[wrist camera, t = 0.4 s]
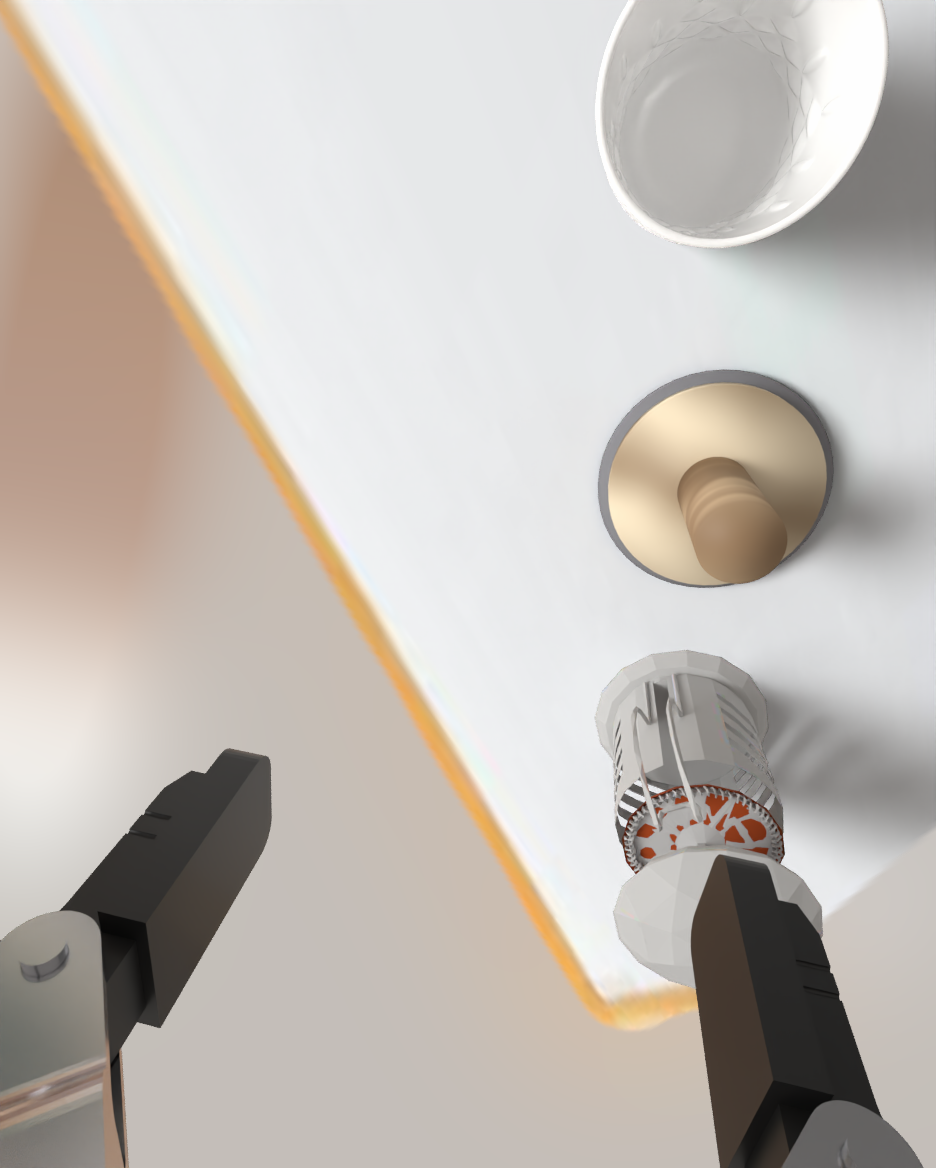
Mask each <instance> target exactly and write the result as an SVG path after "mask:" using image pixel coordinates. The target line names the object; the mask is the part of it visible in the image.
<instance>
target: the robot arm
mask: <svg viewBox="0 0 936 1168" xmlns="http://www.w3.org/2000/svg"><path fill="white" fill-rule="evenodd" d="M271 818H272V816H271V764H270V760H269V758H268V757H267V756H263V755H258V754H253V753H249V752H244V751H239V750H234V749H230V748H229V749H226V750H224V751H223V752H222V753H221V755H220V756H219V757H218V758H217V759H216V761H215V762H214V763H213V765H212V766H211V767H210V769H209V770H208V771H207V773H205V774H204V773H199V772H195V771H191V772H189V773H187V774H186V775H184V776H182V777H181V778H179V779H178V780H176V781H174V782H173V783H171V784H170V785H168V786H166V787H165V788H164V789H163V790H162V791H161V792H160V794H159V795H158V796H157V797H156V798H155V799H154V801H153V802H152V803H151V804H150V805H149V807H148V808H147V809H146V810H145V814H144V815H141V816H140V817H139V819H138V820H137V821H136V822H135V823H134V825H133V826H132V827H131V828H130V831H129V833H128V834H125V835H124V836H123V838H122V839H121V840H120V841H119V842H118V843H117V844H116V846H115V847H114V848H113V849H112V850H111V852H110V853H109V854H108V855H107V856H106V857H105V859H104V860H103V861H102V862H101V863H100V865H99V866H98V867H97V868H96V869H95V870H94V872H93V873H92V874H91V875H90V877H89V878H88V879H87V880H86V881H85V882H84V884H83V885H82V886H81V887H80V888H79V889H78V891H77V892H76V893H75V894H74V896H73V897H72V898H71V899H70V900H69V901H68V902H67V904H66V905H65V906H64V907H63V908H62V909H61V910H60V911H56V912H51V913H47V914H43V915H40V916H37V917H35V918H33V919H31V920H28V921H26V922H25V923H23V924H21V925H20V926H18V927H16V928H15V929H14V930H13V931H11V932H10V933H8V934H7V935H6V936H5V937H4V938H3V939H2V940H0V1168H129V1163H128V1147H127V1129H126V1113H125V1096H124V1081H123V1066H122V1065H123V1063H122V1051H121V1047H122V1045H123V1044H124V1042H125V1040H126V1039H127V1037H128V1036H129V1034H130V1032H131V1031H132V1029H133V1027H134V1026H135V1024H136V1023H137V1022H139V1023H143V1024H147V1025H151V1026H154V1027H158V1028H161V1026H162V1024H163V1022H164V1021H165V1019H166V1017H167V1016H168V1014H169V1012H170V1010H171V1009H172V1007H173V1005H174V1004H175V1002H176V1000H177V998H178V997H179V995H180V993H181V992H182V990H183V988H184V986H185V984H186V983H187V981H188V979H189V978H190V976H191V974H192V972H193V971H194V969H195V967H196V966H197V964H198V962H199V961H200V959H201V957H202V955H203V953H204V952H205V950H206V948H207V947H208V945H209V943H210V942H211V940H212V938H213V936H214V935H215V933H216V931H217V930H218V928H219V926H220V924H221V923H222V921H223V919H224V917H225V916H226V914H227V912H228V910H229V909H230V907H231V905H232V904H233V902H234V900H235V899H236V897H237V895H238V893H239V892H240V890H241V888H242V886H243V885H244V883H245V881H246V880H247V878H248V876H249V874H250V873H251V871H252V869H253V868H254V866H255V864H256V862H257V861H258V859H259V857H260V855H261V854H262V852H263V849H264V847H265V845H266V842H267V839H268V836H269V832H270V827H271ZM691 957H692V964H693V972H694V979H695V986H696V994H697V1001H698V1008H699V1016H700V1023H701V1030H702V1038H703V1045H704V1052H705V1060H706V1067H707V1074H708V1081H709V1089H710V1096H711V1103H712V1110H713V1118H714V1126H715V1133H716V1140H717V1148H718V1155H719V1162H720V1168H923V1166H922V1164H921V1163H920V1161H919V1159H918V1157H917V1156H916V1154H915V1152H914V1151H913V1150H912V1148H911V1147H910V1146H909V1144H908V1143H907V1142H906V1141H905V1140H904V1138H903V1137H902V1136H901V1135H900V1134H899V1133H898V1132H897V1131H896V1130H895V1129H894V1128H893V1127H892V1126H891V1125H890V1124H889V1123H887V1122H886V1121H885V1120H883V1118H882V1116H881V1114H880V1112H879V1109H878V1107H877V1104H876V1101H875V1098H874V1095H873V1092H872V1089H871V1086H870V1083H869V1080H868V1077H867V1075H866V1072H865V1069H864V1066H863V1062H862V1060H861V1057H860V1054H859V1051H858V1048H857V1045H856V1042H855V1039H854V1036H853V1033H852V1030H851V1027H850V1024H849V1021H848V1018H847V1015H846V1012H845V1009H844V1006H843V1003H842V1001H840V1000H839V991H838V988H837V985H836V982H835V979H834V976H833V974H832V973H830V964H829V961H828V958H827V955H826V952H825V949H824V946H823V943H822V940H821V937H820V934H819V933H818V932H817V930H816V929H815V928H814V926H813V925H812V924H811V922H810V921H809V919H808V918H807V917H806V915H805V914H804V913H803V911H802V910H801V909H800V907H799V906H798V904H794V903H790V902H785V901H780V900H778V897H777V894H776V890H775V887H774V883H773V880H772V876H771V873H770V870H769V868H768V866H767V865H766V864H764V863H760V862H755V861H750V860H746V859H741V858H736V857H731V856H727V855H722V854H719V855H718V856H717V857H716V858H715V860H714V862H713V865H712V868H711V870H710V873H709V876H708V879H707V881H706V884H705V887H704V889H703V892H702V895H701V898H700V900H699V903H698V906H697V908H696V911H695V914H694V918H693V922H692V929H691Z"/></svg>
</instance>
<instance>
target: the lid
mask: <svg viewBox="0 0 936 1168" xmlns="http://www.w3.org/2000/svg"><path fill="white" fill-rule="evenodd" d="M826 481H827V473H826V462H825V457H824V452H823V449H822V446H821V443H820V441H819V438H818V437H817V435H816V433H815V431H814V429H813V428H812V426H811V425H810V424H809V422H808V421H807V420H806V418H805V417H804V416H803V415H802V414H801V413H800V412H799V411H798V410H796V409H795V408H794V407H793V406H792V405H790V404H789V403H787V402H786V401H785V400H783V399H782V398H780V397H779V396H777V395H775V394H773V393H771V392H769V391H767V390H764V389H761V388H758V387H755V386H752V385H747V384H742V383H731V382H718V383H707V384H702V385H698V386H693V387H690V388H687V389H684V390H681V391H679V392H677V393H675V394H672V395H670V396H668V397H666V398H665V399H663V400H662V401H660V402H658V403H657V404H655V405H654V406H652V407H651V408H650V409H649V410H648V411H646V412H645V413H644V414H643V415H642V416H641V417H640V418H639V419H638V420H637V421H636V422H635V423H634V424H633V425H632V427H631V428H630V429H629V431H628V432H627V433H626V435H625V436H624V438H623V440H622V441H621V443H620V445H619V447H618V449H617V451H616V454H615V456H614V459H613V462H612V466H611V470H610V474H609V483H608V499H609V508H610V514H611V518H612V521H613V524H614V527H615V529H616V531H617V533H618V536H619V538H620V539H621V541H622V542H623V544H624V545H625V547H626V548H627V549H628V550H629V552H630V553H631V554H632V555H633V556H634V557H635V558H636V559H637V560H638V561H640V562H641V563H642V564H643V565H644V566H646V567H647V568H649V569H650V570H652V571H653V572H655V573H657V574H659V575H662V576H664V577H666V578H669V579H672V580H675V581H678V582H682V583H687V584H694V585H721V584H728V583H734V584H741V583H748V582H752V581H755V580H758V579H760V578H762V577H764V576H766V575H767V574H769V573H770V572H771V571H772V570H774V568H775V567H776V566H777V565H778V564H779V563H780V561H782V560H783V559H784V558H785V557H786V556H788V555H789V554H790V553H791V552H792V551H793V550H794V549H795V548H796V547H797V546H798V545H799V544H800V543H801V542H802V540H803V539H804V538H805V536H806V535H807V534H808V532H809V531H810V529H811V528H812V526H813V524H814V522H815V521H816V519H817V517H818V514H819V512H820V509H821V507H822V503H823V499H824V495H825V490H826Z"/></svg>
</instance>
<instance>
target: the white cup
mask: <svg viewBox="0 0 936 1168" xmlns="http://www.w3.org/2000/svg"><path fill="white" fill-rule="evenodd" d="M888 54H889V41H888V28H887V21H886V15H885V10H884V6H883V2H882V0H629V1H628V3H627V5H626V6H625V8H624V10H623V12H622V13H621V15H620V17H619V19H618V21H617V23H616V25H615V28H614V30H613V32H612V34H611V37H610V40H609V42H608V45H607V48H606V51H605V54H604V57H603V61H602V65H601V69H600V74H599V79H598V86H597V94H596V131H597V139H598V145H599V150H600V154H601V158H602V161H603V164H604V167H605V170H606V174H607V177H608V181H609V183H610V186H611V188H612V190H613V192H614V194H615V196H616V198H617V200H618V201H619V203H620V204H621V206H622V207H623V209H624V210H625V211H626V213H627V214H628V215H629V216H630V217H631V218H632V219H633V220H634V221H635V222H636V223H637V224H638V225H639V226H641V227H642V228H643V229H645V230H646V231H648V232H649V233H651V234H653V235H655V236H657V237H659V238H662V239H664V240H667V241H669V242H673V243H676V244H681V245H689V246H694V247H701V248H727V247H735V246H740V245H744V244H748V243H752V242H755V241H758V240H761V239H764V238H766V237H769V236H771V235H773V234H775V233H777V232H779V231H781V230H783V229H785V228H786V227H788V226H790V225H791V224H793V223H795V222H796V221H798V220H799V219H800V218H802V217H803V216H805V215H806V214H807V213H808V212H810V211H811V210H812V209H813V208H815V207H816V206H817V205H818V204H819V203H820V202H821V201H822V200H823V199H824V198H825V197H826V196H827V195H828V194H829V193H830V192H831V191H832V190H833V189H834V188H835V187H836V185H837V184H838V183H839V182H840V181H841V179H842V178H843V177H844V176H845V174H846V173H847V171H848V170H849V169H850V167H851V166H852V164H853V163H854V161H855V160H856V158H857V156H858V155H859V153H860V151H861V149H862V148H863V146H864V144H865V142H866V140H867V138H868V136H869V134H870V131H871V129H872V127H873V124H874V122H875V119H876V116H877V113H878V110H879V107H880V104H881V100H882V96H883V92H884V87H885V82H886V76H887V68H888Z"/></svg>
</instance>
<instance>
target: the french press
mask: <svg viewBox="0 0 936 1168" xmlns="http://www.w3.org/2000/svg"><path fill="white" fill-rule="evenodd" d="M595 721H596V726H597V731H598V736H599V740H600V744H601V745H602V747H603V748H604V749H605V750H606V752H607V753H608V754H609V756H610V757H611V758H612V760H613V765H614V785H615V788H614V798H615V825H616V829H617V833H618V837H619V841H620V843H621V844H622V845H623V849H624V853H625V858H626V862H627V864H628V865H629V866H630V867H631V869H632V870H633V871H634V872H635V874H636V875H634V876H633V877H632V878H631V879H630V880H629V881H627V882H626V883H625V884H624V885H623V886H622V888H621V891H620V894H619V897H618V900H617V902H616V905H615V908H614V911H613V914H614V918H615V923H616V927H617V932H618V937H619V939H620V941H621V942H622V943H623V944H624V945H625V947H626V948H627V949H628V950H629V951H630V953H631V954H632V955H633V956H634V958H635V959H636V960H637V961H638V962H639V963H640V964H642V965H644V966H645V967H647V968H649V969H650V970H652V971H654V972H655V973H657V974H659V975H660V976H662V977H664V978H665V979H667V980H669V981H671V982H675V983H678V984H681V985H685V986H688V987H691V988H695V989H696V986H695V979H694V972H693V964H692V957H691V929H692V922H693V918H694V914H695V911H696V908H697V906H698V903H699V900H700V898H701V895H702V892H703V889H704V887H705V884H706V881H707V879H708V876H709V873H710V870H711V868H712V865H713V862H714V860H715V858H716V857H717V856H718V855H719V854H722V855H727V856H731V857H736V858H741V859H746V860H750V861H755V862H760V863H764V864H766V865H767V866H768V868H769V870H770V873H771V876H772V880H773V883H774V887H775V890H776V894H777V897H778V900H780V901H785V902H790V903H794V904H798V906H799V907H800V909H801V910H802V911H803V913H804V914H805V915H806V917H807V918H808V919H809V921H810V922H811V924H812V925H813V926H814V928H815V929H816V930H817V932H818V933H819V934H820V937H821V938H822V936H823V930H822V907H821V905H820V904H819V902H818V901H817V899H816V898H815V896H814V895H813V894H812V892H811V891H810V889H809V888H808V886H807V885H806V883H805V882H804V880H803V879H802V878H800V877H799V876H798V875H797V874H795V873H794V872H792V871H791V870H789V869H787V868H786V867H784V866H783V865H781V864H780V863H781V861H782V859H783V857H784V855H785V851H784V841H783V807H782V804H781V801H780V797H779V794H778V791H777V789H776V787H775V786H774V785H773V783H774V779H773V777H772V774H771V772H770V770H769V769H768V762H767V759H766V757H765V754H764V753H763V751H762V750H763V747H762V742H763V740H764V737H765V735H766V733H767V730H768V719H767V708H766V700H765V698H764V697H763V695H762V694H761V692H760V691H759V689H758V688H757V686H756V685H755V683H754V682H753V680H752V679H751V677H750V676H749V675H748V674H746V673H745V672H743V671H742V670H740V669H739V668H737V667H735V666H734V665H732V664H731V663H729V662H728V661H726V660H724V659H723V658H721V657H717V656H712V655H707V654H702V653H698V652H693V651H688V650H684V651H676V652H667V653H659V654H651V655H649V656H647V657H645V658H643V659H641V660H639V661H637V662H635V663H633V664H631V665H629V666H627V667H625V668H623V669H621V671H620V672H619V673H618V674H617V675H616V676H615V677H614V679H613V680H612V681H611V682H610V683H609V684H608V685H607V686H606V688H605V689H604V690H603V691H602V693H601V697H600V701H599V704H598V708H597V711H596V715H595ZM761 757H763V758H764V760H765V761H763V760H762V759H761ZM752 758H755V759H754V761H753V762H752V761H751V759H752ZM614 762H615V763H614ZM759 764H761V765H762V766H763V768H762V770H761V769H760V768H759V767H758V766H759ZM616 766H617V770H616ZM741 769H742V770H744V771H746V773H745V774H744V775H743V776H742V777H741V778H740V779H739V780H738V782H737V783H736V781H735V778H734V777H735V775H736V774H737V773H738V772H739V771H740V770H741ZM620 770H622V771H623V772H622V775H621V776H620V775H619V773H620ZM767 773H768V774H769V776H770V779H769V777H768V776H767V775H766V774H767ZM615 775H616V779H615ZM752 775H753V776H755V777H756V778H757V779H756V780H755V782H754V783H753V785H752V786H751V787H750V788H749V789H748V791H747V792H746V793H745V794H743V793H741V792H739V790H740V789H741V788H742V787H743V786H744V785H745V784H746V783H747V782H748V780H749V779H750V778H751V777H752ZM637 780H640V781H641V783H642V787H643V788H642V787H639V786H637V785H635V784H633V783H634V782H636V781H637ZM617 782H618V783H619V784H618V786H617ZM762 783H763V784H764V785H766V786H767V788H766V789H765V791H764V792H763V794H762V795H761V797H760V798H759V799H758V801H757V802H755V801H754V800H752V799H751V798H752V797H753V796H754V795H755V793H756V792H757V790H758V789H759V787H760V786H761V784H762ZM647 784H649V785H651V786H654V787H657V788H660V789H663V790H666V791H664V792H661V793H659V794H656V793H654V792H651V791H649V789H648V785H647ZM627 789H629V790H630V791H632V792H634V793H637V794H639V795H641V796H644V797H645V800H646V801H645V802H644V803H643V802H641V801H638V800H636V799H634V798H632V797H630V796H628V795H626V794H624V792H625V791H626V790H627ZM772 792H773V793H774V795H775V799H774V804H773V805H772V807H771V808H770V810H769V811H768V810H767V809H766V808H765V807H763V806H764V805H765V803H766V802H767V800H768V799H769V797H770V796H771V794H772ZM620 800H622V801H623V802H625V803H626V804H628V805H630V806H632V807H635V808H637V810H636V811H635V812H634V813H631V812H629V811H627V810H625V809H623V808H621V807H620V806H619V802H620ZM617 810H618V814H619V815H620V816H621V817H623V818H624V819H626V820H627V821H628V822H627V825H626V828H625V827H623V826H621V825H620V823H619V820H618V817H617Z"/></svg>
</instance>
